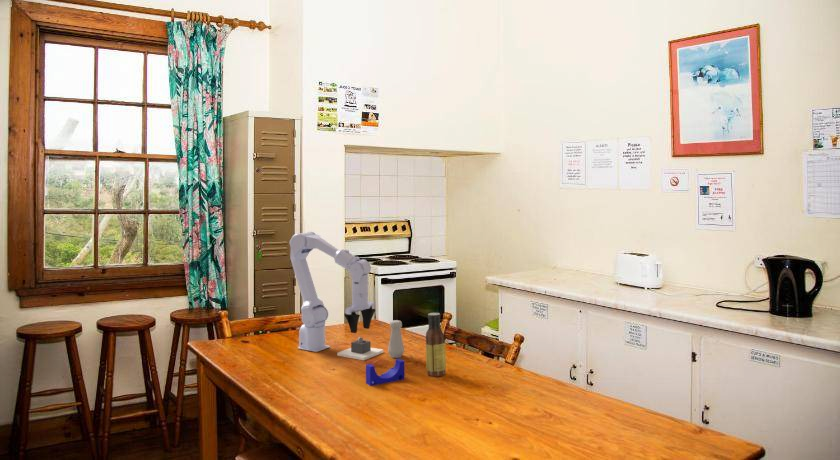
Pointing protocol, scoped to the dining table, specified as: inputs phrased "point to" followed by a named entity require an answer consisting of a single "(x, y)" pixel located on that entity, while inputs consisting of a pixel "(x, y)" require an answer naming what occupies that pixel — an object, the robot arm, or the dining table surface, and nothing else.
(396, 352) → the salt shaker
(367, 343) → the square frame block
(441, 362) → the sauce bottle
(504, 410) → the dining table surface
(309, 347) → the robot arm
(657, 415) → the dining table surface
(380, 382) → the blue cradle stand
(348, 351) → the peg base
